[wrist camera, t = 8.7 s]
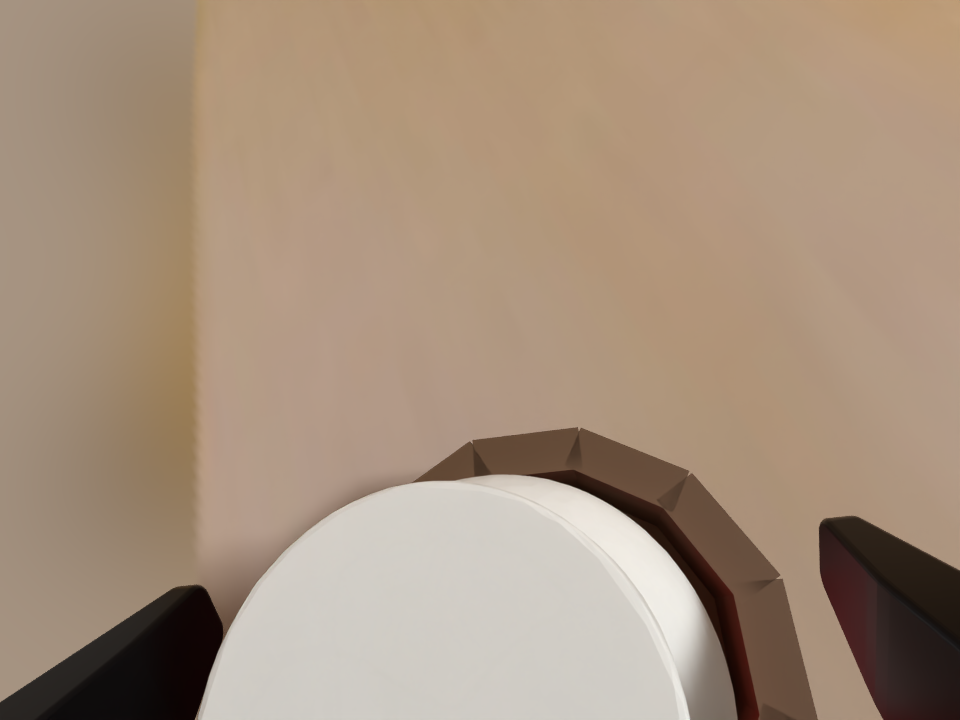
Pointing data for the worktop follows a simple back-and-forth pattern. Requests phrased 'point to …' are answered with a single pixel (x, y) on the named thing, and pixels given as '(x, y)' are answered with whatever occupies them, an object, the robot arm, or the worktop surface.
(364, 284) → the worktop surface
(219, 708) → the pill bottle
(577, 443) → the collar stand
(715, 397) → the worktop surface
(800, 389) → the worktop surface
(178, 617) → the robot arm
